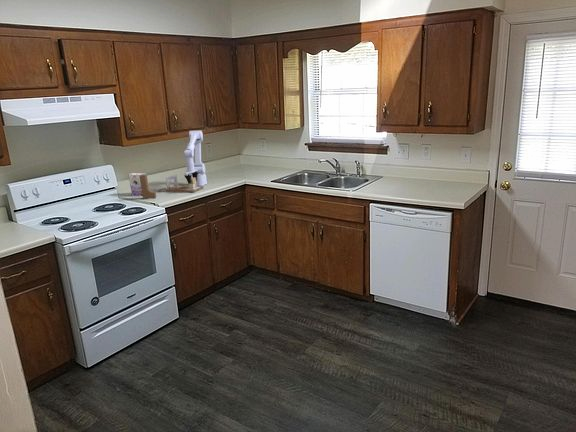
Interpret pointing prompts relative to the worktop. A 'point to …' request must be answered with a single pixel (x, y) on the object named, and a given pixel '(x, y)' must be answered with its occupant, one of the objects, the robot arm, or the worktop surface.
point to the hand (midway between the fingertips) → (192, 182)
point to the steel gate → (170, 179)
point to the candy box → (135, 183)
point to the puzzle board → (182, 189)
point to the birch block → (192, 183)
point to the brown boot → (146, 188)
